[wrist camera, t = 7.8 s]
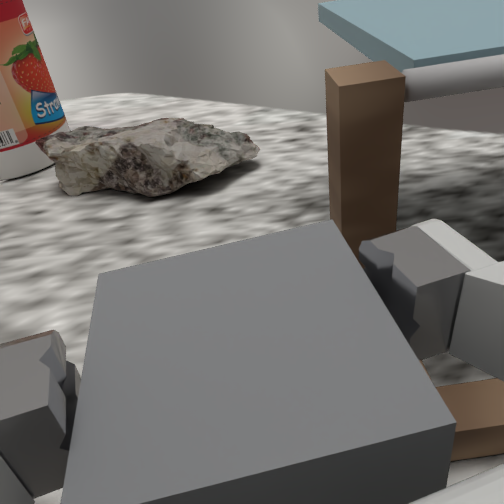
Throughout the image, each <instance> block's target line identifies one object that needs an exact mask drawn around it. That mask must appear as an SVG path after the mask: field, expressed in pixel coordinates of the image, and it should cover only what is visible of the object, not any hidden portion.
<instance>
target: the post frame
mask: <svg viewBox="0 0 504 504" xmlns="http://www.w3.org/2000/svg"><path fill="white" fill-rule="evenodd" d="M405 79H406V76H405V75H403V74H402V73H401V72H400V71H398V70H397V69H396V68H394V67H393V66H392V65H390V64H389V63H388V62H387V61H385V60H382V61H375V62H369V63H362V64H356V65H350V66H343V67H337V68H330V69H325V81H326V82H325V84H326V113H327V142H328V171H329V199H330V220H331V219H333V221H334V223H335V224H336V226H337V228H338V229H339V231H340V232H341V234H342V236H343V237H344V239H345V241H346V242H347V244H348V246H349V247H350V249H351V250H352V252H353V254H354V255H355V257H356V259H357V260H358V262H359V264H360V265H361V267H362V268H363V269H364V268H365V266H364V265H363V264H362V262H361V261H360V260H359V247H360V245H361V242H362V241H363V240H367V239H370V238H373V237H377V236H380V235H384V234H387V233H390V232H394V231H396V221H397V206H398V190H399V174H400V158H401V142H402V127H403V110H404V95H405ZM419 362H420V363H421V365H422V366H423V368H424V370H425V371H426V373H427V375H428V376H429V374H428V372H427V370H426V368H425V366H424V364H423V362H422V360H419ZM429 378H430V377H429ZM430 380H431V379H430ZM435 388H436V389H437V391H438V393H439V394H440V396H441V398H442V399H443V401H444V402H445V404H446V406H447V407H448V409H449V411H450V412H451V414H452V415H453V417H454V419H455V420H456V422H457V423H456V429H455V436H454V442H453V448H452V454H451V460H450V461H455V460H462V459H469V458H475V457H482V456H489V455H496V454H503V453H504V381H502V380H500V379H498V378H494V379H488V380H481V381H474V382H467V383H461V384H454V385H447V386H440V387H435Z"/></svg>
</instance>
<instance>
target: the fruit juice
mask: <svg viewBox="0 0 504 504" xmlns="http://www.w3.org/2000/svg"><path fill="white" fill-rule="evenodd" d="M68 131H70V128H69V126H68V123H67V120H66V117H65V115H64V112H63V109H62V107H61V104H60V101H59V99H58V96H57V93H56V90H55V88H54V85H53V82H52V80H51V77H50V75H49V72H48V69H47V66H46V63H45V61H44V59H43V55H42V53H41V50H40V48H39V45H38V42H37V39H36V37H35V34H34V31H33V29H32V26H31V23H30V21H29V18H28V15H27V12H26V10H25V7H24V4H23V1H22V0H0V181H1V180H8V179H12V178H17V177H21V176H24V175H27V174H31V173H33V172H36V171H39V170H41V169H44V168H46V167H48V166H50V165H52V164H54V163H55V162H53V161H52V160H50V159H49V158H48V156H47V155H46V154H45V153H43V152H42V151H41V150H40V148H39V147H38V146H37V144H35V142H36V140H38V139H40V138H43V137H45V136H47V135H54V134H56V133H58V132H68Z"/></svg>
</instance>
